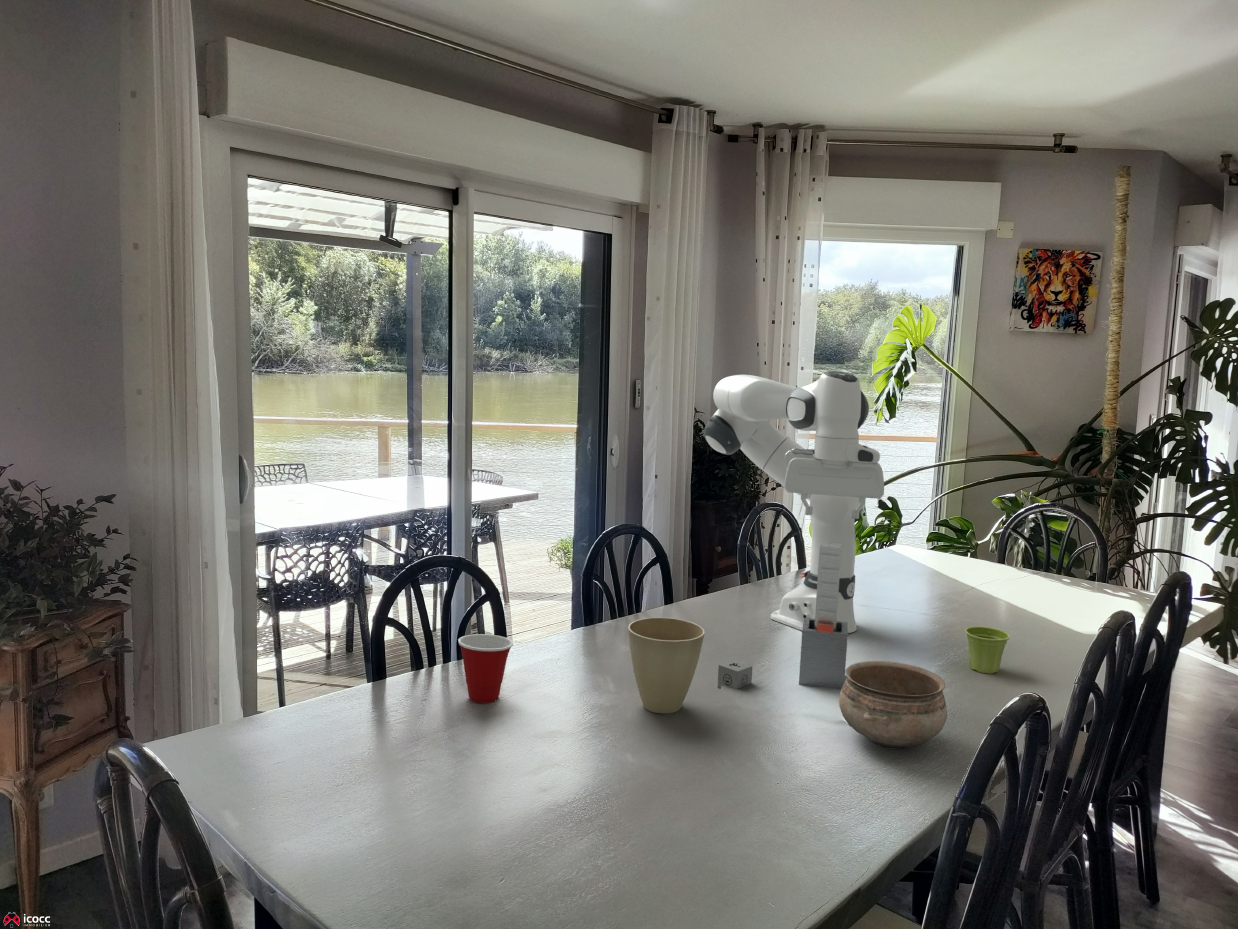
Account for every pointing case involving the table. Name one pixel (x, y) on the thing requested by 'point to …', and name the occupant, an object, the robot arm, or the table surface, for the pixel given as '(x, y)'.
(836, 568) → the column
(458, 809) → the table surface
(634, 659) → the plant pot
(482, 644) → the plastic cup
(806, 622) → the sleeve
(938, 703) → the cooking pot
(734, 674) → the dice cube
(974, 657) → the plant pot
